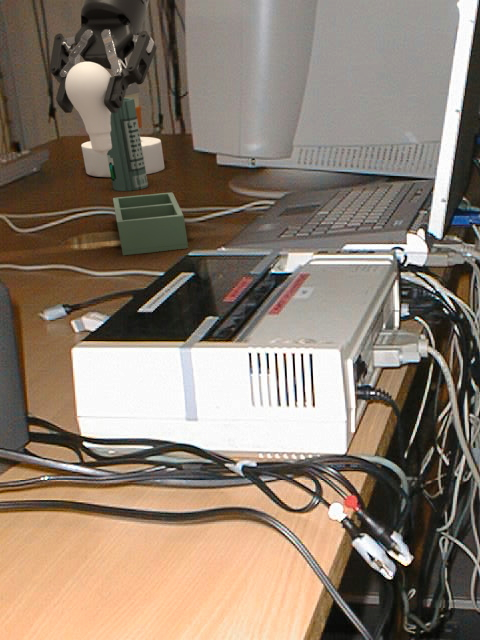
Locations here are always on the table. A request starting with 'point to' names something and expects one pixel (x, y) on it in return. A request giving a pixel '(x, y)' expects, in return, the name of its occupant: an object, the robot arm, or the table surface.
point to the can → (126, 150)
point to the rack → (150, 223)
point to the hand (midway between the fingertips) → (87, 108)
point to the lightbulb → (91, 102)
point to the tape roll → (100, 165)
